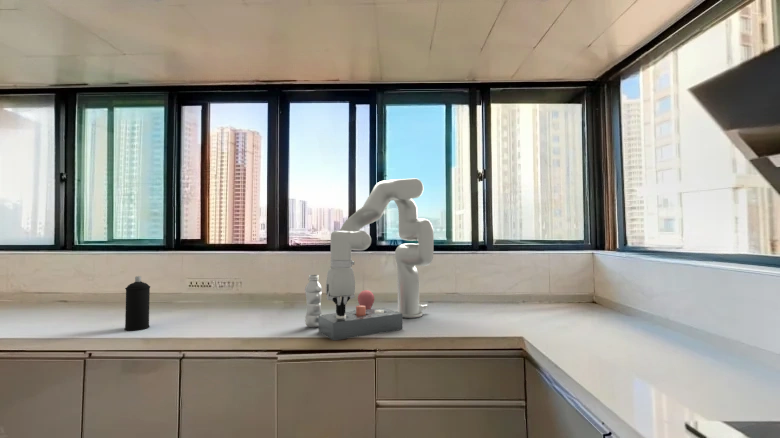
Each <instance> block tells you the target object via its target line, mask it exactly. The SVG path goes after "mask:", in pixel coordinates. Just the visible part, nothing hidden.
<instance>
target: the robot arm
mask: <svg viewBox="0 0 780 438" xmlns="http://www.w3.org/2000/svg"><path fill="white" fill-rule="evenodd" d="M423 192H424V184H423V182H422V180H420V179H419V178H416V177H413V178H397V179H388V180H381V181H379V182H376V184H375V185H374V186H373V188H372V190H371V192H370V194H369V196H368V197H367V198H366V200H365V202H364V203H363V206H361V208H359V209H357V210H356V211H355V212H354V213H353V214H351V215H350V216H349V217H348V218H347V219H346V220H345V221H344V222H343V224H342V225H341V227H340V229H339V230H334V231H332V232H331V233H330V268H328V269H327V273H326V279H325V295H326V298H325V299H326V300H327V301H332V302H333V303H334V304H335V313H337V315H338V316H344V315H345V312H346V305H347V304H348V302H349V301H350V300H352V299H354V298H355V297H356V296H355V293H356V282H355V272H354V268H352V267H353V266H354V265H355V261H354V260H352V251H365V250H367V249H368V248H369V247H370V246H371V244H372V237H371V235H370V233H368V232H367V231H366V230H365V231H364V230H362V229H363V228H364V227H366V226H368V225H370V224H373V223H374V222H377V221H378V220H380V219H381V218H382V216H383V215H384V213H385V210H386V209H387V208H388V205H389V204H390V202H392V201H393V202H394V203H395V205H396V206H397V209H398V210H397V211H398V235H399V238H400V239H401V240H403V241H417V243H402V244H399V245H398V246H397V247H396V249H395V251H394V257H395V258H394V259H395V262H396V263H395V264H396V268H397V269H396V270H397V271H396V272H397V310H396V312H399V313H402V319H403V318H404V319H405V318H406V319H407V318H408V319H411V318H415V319H416V318H420V317H422V316H423V311H424V310H428V309H429V305H428V304H420V275H419V271H418V268H417V267H418V266H419V267H427V266H429V265H431V263H433V260H434V243H435V241H434V227H433V224H432V222H431V221H430V220H429V219H426V218H419V217H418V214H419V213H418V206H417V204H416V202H415V201H414V199H418V198H420V197H421V196H422V195H423Z"/></svg>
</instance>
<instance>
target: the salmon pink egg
mask: <svg viewBox="0 0 780 438" xmlns="http://www.w3.org/2000/svg"><path fill="white" fill-rule="evenodd" d="M355 311H356V316H364V315H366V306H363V305H355Z"/></svg>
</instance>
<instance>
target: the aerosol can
mask: <svg viewBox="0 0 780 438" xmlns="http://www.w3.org/2000/svg"><path fill="white" fill-rule="evenodd" d="M150 288H151V286H150V285H149V284H148V283H147V282H144V281H142V276H141V275H140V276H139V275H138V276H135V277H134V282H131V283H130V284H128V285H127V286H126V287H125V315H124V316H125V323H124V331H127V332H136V331H137V332H138V331H142V330H147V329H149V328H150V327H151V326H150V293H151V292H150Z"/></svg>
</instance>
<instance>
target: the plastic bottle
mask: <svg viewBox="0 0 780 438" xmlns="http://www.w3.org/2000/svg"><path fill="white" fill-rule="evenodd" d="M319 276H320V275H319V274H310V275H308V281H309V282H308V283H307V284H306V286H305V289H304V291H305V298H306V310H305V313H306V314H305V316H304V317H305V319H304V323H305V326H307V327H309V328H316V327H318V328H319V315H323V314H322V305H321V302H322V294H323V293H322V292H323V288H322V287H323V286H322V285H321V283H320V282H319V280H320V278H319Z"/></svg>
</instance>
